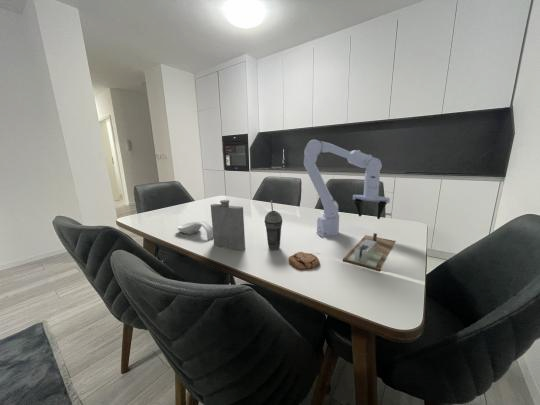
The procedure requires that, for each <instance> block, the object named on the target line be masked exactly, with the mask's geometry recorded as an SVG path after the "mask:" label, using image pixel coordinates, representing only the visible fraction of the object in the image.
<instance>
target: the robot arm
mask: <svg viewBox="0 0 540 405" xmlns="http://www.w3.org/2000/svg"><path fill="white" fill-rule="evenodd" d="M321 153H331V154H334V155H336V156H338V157H339V156H340V157H342V158H345V159H347V163H349V164H351V165H353V166H355V167H358V168H361V169H365V175H364V181H363V182H364V185H363V194H353V195H352V200H353V202H354V204H355V207H356V209H357V213H358V217H361V216H362V215H363V202H364V201H367V202H377V217H376V218H377V220H380V219H381V215H382V212H383V211H384V209H385V207H386V205H387V204H389V203H390V201H391V198H390V197H386V196H379V191H380V190H379V188H380V176H381V175H380V174H381V172H380V171H381V169H382V168H383V165H382V161H381V159H379V158H377V157H375V156H374V157H373V155H372V154H366V153H364V152H361V150H360V149H357V150H356V149H354V150H351V151H349V150H347V149H345V148H342V147H340V146H338V145H335V144H333V143H330V142H326V141H322V140H321V141H320V140H318V139H311V140H309V141H308V142H307V144H306V146H305V148H304V157H303V166H304V168H305V170H306V172H307V174H308V176H309V178H310V181H311V182H312V184H313V186H314V189H315V190H316V193H317V194H318V196H319V199H320V202H321V204H322V207H323V214H322V216H320V217H319V216H318V218H317V222H316V234H317V235H318V236H320V237H321V238H323V239H324V238H326V237H328V236H338V235H339V233H340V232H339V231H340V229H339V228H340V214H339V208H340V207H339V203H338V202H337V201H336V200H335V199H334V197H333V196H332V195H331V193H330V191H329V189H328V186H327V185H326V182H325V181H324V179H323V177H322V174H321V172H320V171H319V168H318V166H317V164H316V162H317V160H318V157H319V156H320V154H321Z"/></svg>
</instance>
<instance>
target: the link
mask: <svg viewBox="0 0 540 405" xmlns="http://www.w3.org/2000/svg"><path fill="white" fill-rule="evenodd" d="M376 250H377V242H376V241H372V240H367V239H366V240H364V241H363V242H362V243H361V244H360V245H359V246H358V247H357V248H356V249H355V259H354V260H357V261H360V257H361V256H362V262H364V263H367V262H368V261H369V260H370V259H371V257H372V256H373V255H374V254H375V253H376Z"/></svg>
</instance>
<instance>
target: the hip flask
mask: <svg viewBox="0 0 540 405" xmlns="http://www.w3.org/2000/svg"><path fill="white" fill-rule="evenodd" d="M219 202H220V203H213V204H210V214H211V216H210V217H211V224H212V225H211V227H212V228H213V244H214V246H217V247H220V248H222V249H223V248H224V249H228V250H232V251H233V250H234V251H245V250H246V240H245V239H246V237H245V235H246V234H245V219H244V217H245V216H244V207H243V206H241V205H240V206H239V205H238V206H237V205H235V206H234V205H230V200H229V199H222V200H220V201H219Z"/></svg>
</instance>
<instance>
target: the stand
mask: <svg viewBox="0 0 540 405" xmlns="http://www.w3.org/2000/svg"><path fill="white" fill-rule="evenodd" d="M366 239H367V240H372V241H376V242H377V250H376V253H375V254H374V255H373V256H372V257H371V259H370V260H369V261H368V262H367V263H364V262H362V256H361V257H360V261H357V260H354V259H355V249H356V248H357V247H358V246H359V245H360V244H361V243H362V242H363V241H364V240H366ZM396 242H397V241H396V240H394V239H389V238H381V237H378V233H376V232H375V233H373V236H372V235H364V236H363V237H362V238H361V239H360V240H359V241H358V242H357V244H355V245H354V247H353V248H352V249H351V250H349V252H348V253H347V254H346V255H345V256H344V257H343V259H342V262H343V263H347V264H350V265H353V266H357V267H362V268H365V269H368V270H373V271H376V272H379V273H380V272H381V271H382V267H383V265H384V263H385V262H386V260H387V258H388V256H389V254H390V252H391V251H392V249H393V247H394V245H395V244H396Z"/></svg>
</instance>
